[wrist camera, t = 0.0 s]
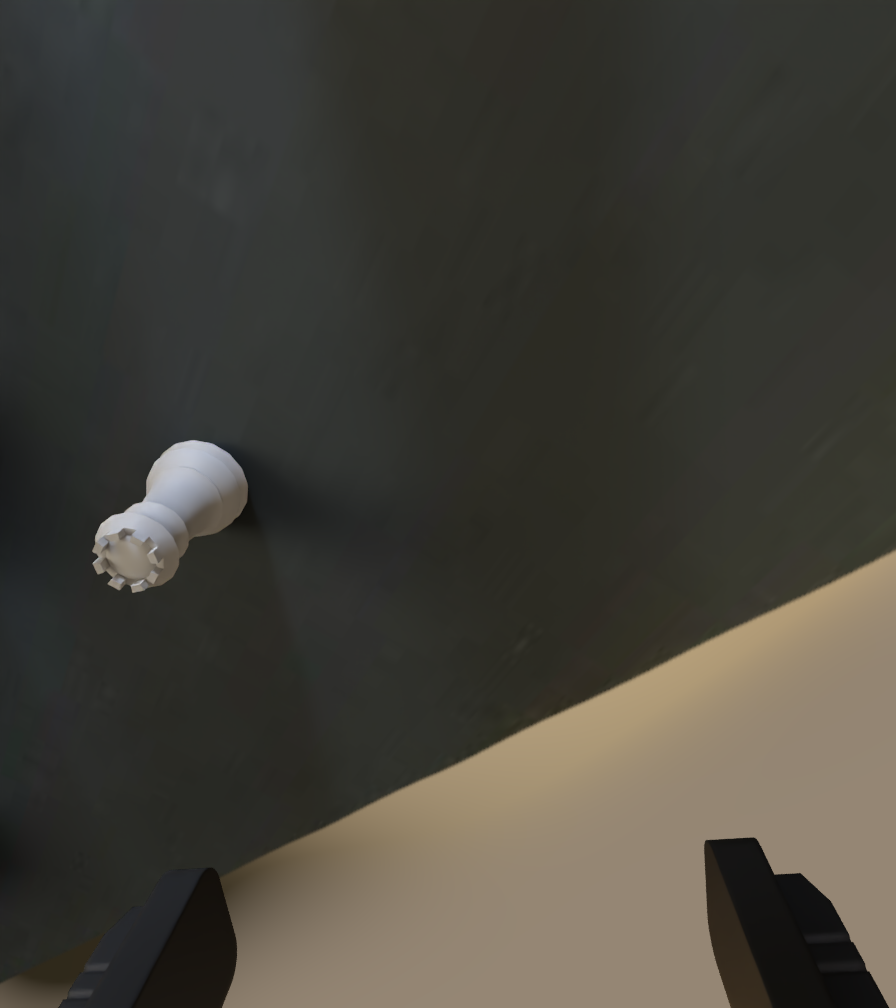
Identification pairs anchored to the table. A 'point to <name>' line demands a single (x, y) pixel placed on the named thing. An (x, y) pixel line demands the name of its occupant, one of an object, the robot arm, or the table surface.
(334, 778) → the table surface
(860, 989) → the robot arm
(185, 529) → the rook chess piece
